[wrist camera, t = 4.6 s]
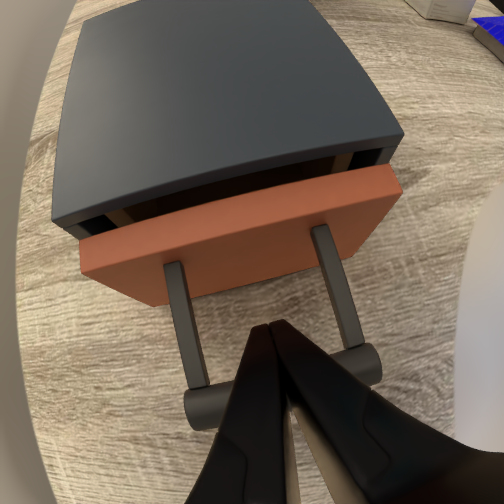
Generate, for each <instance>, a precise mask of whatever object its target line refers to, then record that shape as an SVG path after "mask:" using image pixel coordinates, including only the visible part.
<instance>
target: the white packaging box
mask: <svg viewBox="0 0 504 504" xmlns="http://www.w3.org/2000/svg"><path fill="white" fill-rule="evenodd" d="M405 1H406V2H407V3H408V4H409V5H410V6H412V7H413V8H414V9H415V10H416V11H417V12H418V13H419V14H420V15H421V16H422V17H424V18H425V19H427V18H428V19H437V20H444V21H450V22H455V23H459V24H465V23H466V21H467V19H468V17H469V14H470V12H471V10H472V8H473V5H474V3H475V1H476V0H405Z"/></svg>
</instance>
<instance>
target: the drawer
mask: <svg viewBox="0 0 504 504" xmlns="http://www.w3.org/2000/svg"><path fill="white" fill-rule="evenodd" d="M353 154H354V152H352V153H346V154H340V155H335V156H330V157H324V158H319V159H314V160H309V161H304V162H299V163H294V164H290V165H285V166H280V167H276V168H271V169H267V170H262V171H258V172H254V173H249V174H245V175H241V176H237V177H233V178H229V179H225V180H221V181H217V182H213V183H209V184H205V185H201V186H198V187H194V188H190V189H186V190H183V191H179V192H176V193H172V194H168V195H165V196H161V197H158V198H155V199H151V200H148V201H144V202H141V203H138V204H134V205H131V206H128V207H125V208H121V209H118V210H115V211H112V212H109V213H106V214H105V215H106V216H107V217H108V218H109V219H110V220H111V221H112V222H113V223H114V224H115V225H116V226H118V227H119V228H117V229H114V230H110V231H107V232H104V233H101V234H97V235H94V236H91V237H88V238H85V239H82V240H80V241H79V251H80V266H81V273H82V274H83V275H85V276H87V277H89V278H91V279H93V280H95V281H97V282H99V283H101V284H104V285H106V286H108V287H110V288H112V289H114V290H116V291H118V292H121V293H123V294H125V295H127V296H129V297H131V298H134V299H136V300H138V301H140V302H143V303H145V304H147V305H149V306H152V307H156V306H160V305H165V304H169V303H170V307H171V312H172V317H173V322H174V327H175V331H176V336H177V341H178V345H179V350H180V354H181V358H182V363H183V367H184V371H185V375H186V379H187V383H188V387H189V389H188V390H186V391H185V393H184V408H185V413H186V417H187V419H188V422H189V424H190V426H191V427H192V429H193V430H195V431H201V430H207V429H213V428H218V427H219V424H220V421H221V418H222V415H223V412H224V409H225V407H226V404H227V401H228V398H229V395H230V392H231V389H232V386H233V383H234V380H232V381H228V382H223V383H218V384H214V385H210V381H209V377H208V373H207V369H206V364H205V360H204V356H203V352H202V348H201V344H200V339H199V335H198V330H197V326H196V322H195V317H194V312H193V308H192V303H191V298H194V297H198V296H202V295H207V294H211V293H215V292H219V291H223V290H227V289H231V288H235V287H239V286H243V285H247V284H251V283H255V282H259V281H263V280H266V279H270V278H274V277H278V276H282V275H286V274H289V273H293V272H297V271H301V270H305V269H308V268H312V267H316V266H319V265H320V267H321V270H322V274H323V277H324V280H325V283H326V287H327V290H328V293H329V297H330V300H331V303H332V307H333V310H334V314H335V317H336V321H337V324H338V328H339V331H340V335H341V338H342V342H343V346H344V348H345V349H346V350H343V351H340V352H337V353H334V354H330V356H331V357H332V358H333V359H335V360H336V361H337V362H338V363H340V364H341V365H342V366H343V367H345V368H346V369H347V370H349V371H350V372H351V373H352V374H354V375H355V376H356V377H357V378H359V379H360V380H361V381H363V382H364V383H365V384H366V385H368V386H372V385H374V384H377V383H379V382H380V381H381V380H382V365H381V361H380V358H379V355H378V353H377V351H376V349H375V348H374V346H373V345H372V344H371V343H365V340H364V336H363V332H362V329H361V325H360V322H359V318H358V315H357V312H356V308H355V305H354V302H353V298H352V295H351V292H350V288H349V285H348V282H347V279H346V276H345V273H344V270H343V266H342V263H341V259H345V258H349V257H352V256H353V255H354V254H355V252H356V251H357V250H358V249H359V248H360V246H361V245H362V244H363V243H364V242H365V240H366V239H367V238H368V237H369V235H370V234H371V233H372V232H373V231H374V229H375V228H376V227H377V226H378V224H379V223H380V222H381V221H382V219H383V218H384V217H385V215H386V214H387V213H388V212H389V210H390V209H391V208H392V207H393V205H394V204H395V203H396V201H397V200H398V199H399V197H400V196H401V195H402V194H403V191H402V189H401V186H400V184H399V182H398V180H397V178H396V176H395V174H394V171H393V169H392V167H391V165H390V164H389V163H387V164H382V165H376V166H371V167H365V168H360V169H355V170H350V171H347V169H348V167H349V164H350V162H351V159H352V157H353ZM208 385H209V386H208ZM287 399H288V397H287ZM288 404H289V410H290V411H293V410H292V408H291V405H290V403H289V400H288Z"/></svg>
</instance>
